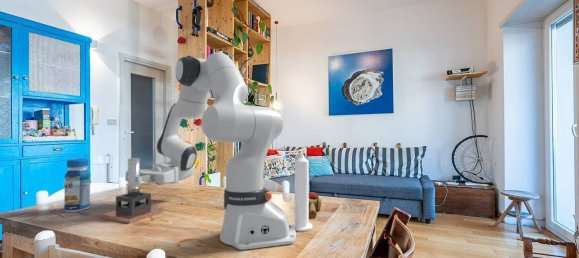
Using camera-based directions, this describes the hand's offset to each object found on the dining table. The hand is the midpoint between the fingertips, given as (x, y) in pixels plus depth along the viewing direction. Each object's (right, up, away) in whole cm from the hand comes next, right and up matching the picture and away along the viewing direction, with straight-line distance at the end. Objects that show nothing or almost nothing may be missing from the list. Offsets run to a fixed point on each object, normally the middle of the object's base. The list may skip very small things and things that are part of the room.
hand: (131, 179), depth 99 cm
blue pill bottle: (-26, -14, +8) cm, 31 cm away
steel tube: (0, -11, +1) cm, 11 cm away
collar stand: (0, -14, +1) cm, 14 cm away
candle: (+62, -14, -11) cm, 65 cm away
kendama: (+67, -14, +7) cm, 69 cm away
